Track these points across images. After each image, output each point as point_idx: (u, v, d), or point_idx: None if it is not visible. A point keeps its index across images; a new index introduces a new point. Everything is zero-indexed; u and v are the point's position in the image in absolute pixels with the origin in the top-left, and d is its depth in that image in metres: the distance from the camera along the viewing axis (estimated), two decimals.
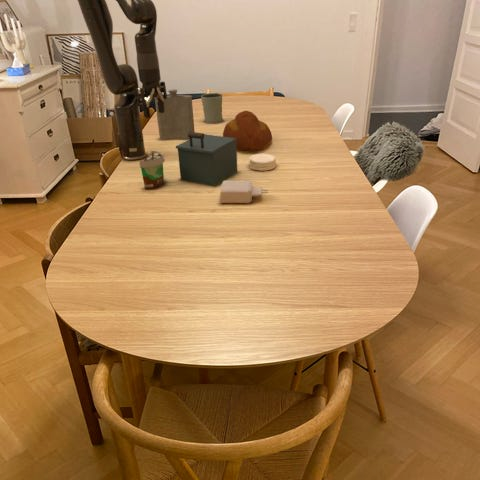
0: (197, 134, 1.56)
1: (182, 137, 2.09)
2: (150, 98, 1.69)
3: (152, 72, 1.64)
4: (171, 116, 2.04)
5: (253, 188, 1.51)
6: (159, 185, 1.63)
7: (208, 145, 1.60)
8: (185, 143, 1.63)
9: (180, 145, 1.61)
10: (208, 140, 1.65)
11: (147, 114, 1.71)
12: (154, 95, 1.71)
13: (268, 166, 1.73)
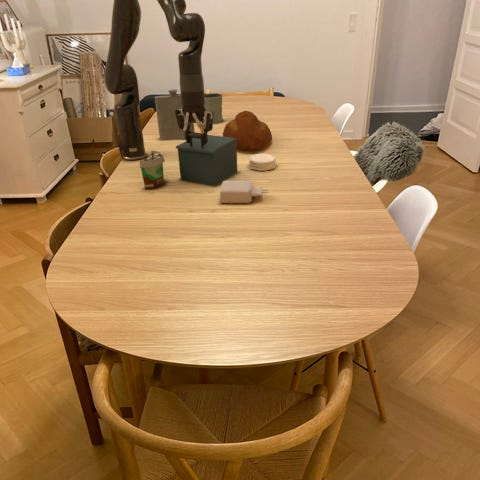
0: (197, 134, 1.56)
1: (182, 137, 2.09)
2: (185, 122, 1.54)
3: (182, 94, 1.48)
4: (171, 116, 2.04)
5: (253, 188, 1.51)
6: (159, 185, 1.63)
7: (208, 145, 1.60)
8: (185, 143, 1.63)
9: (180, 145, 1.61)
10: (208, 140, 1.65)
11: (185, 138, 1.59)
12: (192, 120, 1.53)
13: (268, 166, 1.73)
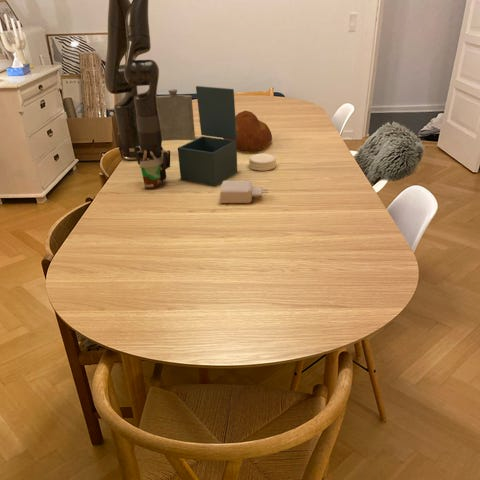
0: None
1: (182, 137, 2.09)
2: (143, 159, 1.60)
3: (139, 134, 1.54)
4: (171, 116, 2.04)
5: (253, 188, 1.51)
6: (159, 185, 1.63)
7: None
8: None
9: None
10: None
11: None
12: (150, 158, 1.59)
13: (268, 166, 1.73)
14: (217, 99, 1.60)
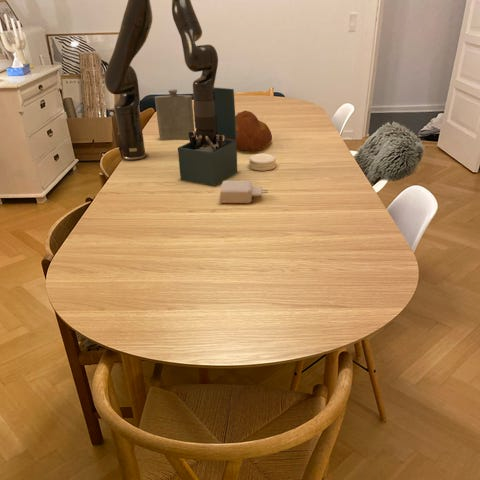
0: None
1: (182, 137, 2.09)
2: (197, 144, 1.64)
3: (195, 119, 1.58)
4: (171, 116, 2.04)
5: (253, 188, 1.51)
6: None
7: None
8: None
9: None
10: None
11: None
12: (205, 142, 1.63)
13: (268, 166, 1.73)
14: (217, 99, 1.60)
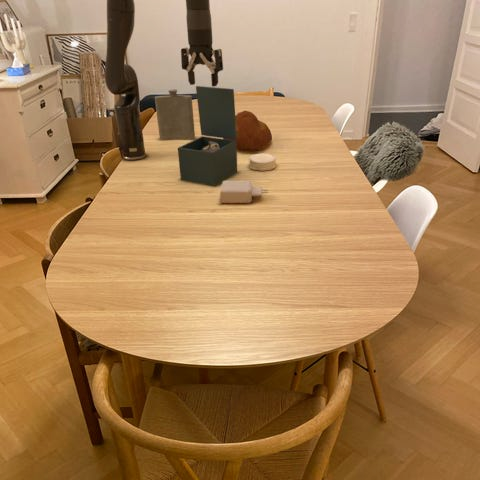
0: None
1: (182, 137, 2.09)
2: (190, 62, 1.49)
3: (188, 33, 1.43)
4: (171, 116, 2.04)
5: (253, 188, 1.51)
6: None
7: None
8: None
9: None
10: None
11: (189, 80, 1.54)
12: (199, 61, 1.48)
13: (268, 166, 1.73)
14: (217, 99, 1.60)
